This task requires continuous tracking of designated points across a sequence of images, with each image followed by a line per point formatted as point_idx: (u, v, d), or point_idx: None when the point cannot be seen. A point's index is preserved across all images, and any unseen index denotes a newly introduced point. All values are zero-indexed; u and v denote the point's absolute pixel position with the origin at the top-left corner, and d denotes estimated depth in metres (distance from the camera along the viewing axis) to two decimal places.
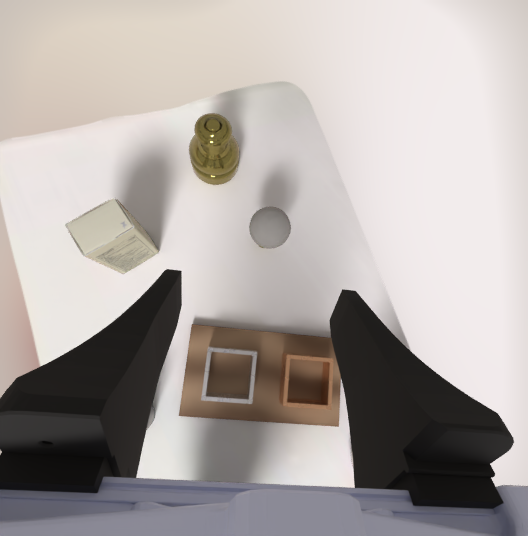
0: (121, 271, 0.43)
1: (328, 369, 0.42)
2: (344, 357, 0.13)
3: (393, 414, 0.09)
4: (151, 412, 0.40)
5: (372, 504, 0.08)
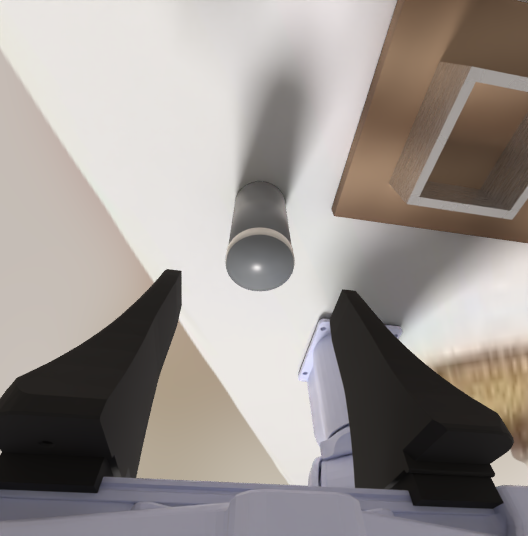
0: None
1: None
2: (344, 357, 0.13)
3: (393, 414, 0.09)
4: (285, 208, 0.20)
5: (372, 504, 0.08)
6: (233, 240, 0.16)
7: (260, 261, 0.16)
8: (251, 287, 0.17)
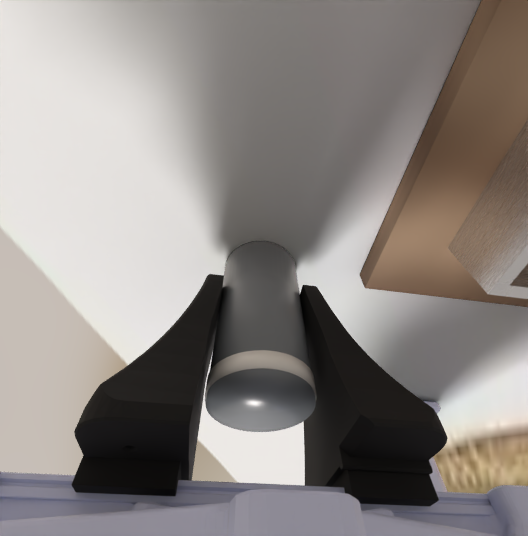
0: None
1: None
2: None
3: (334, 410, 0.09)
4: (297, 282, 0.14)
5: (372, 504, 0.08)
6: (217, 369, 0.10)
7: (261, 401, 0.10)
8: (247, 428, 0.11)
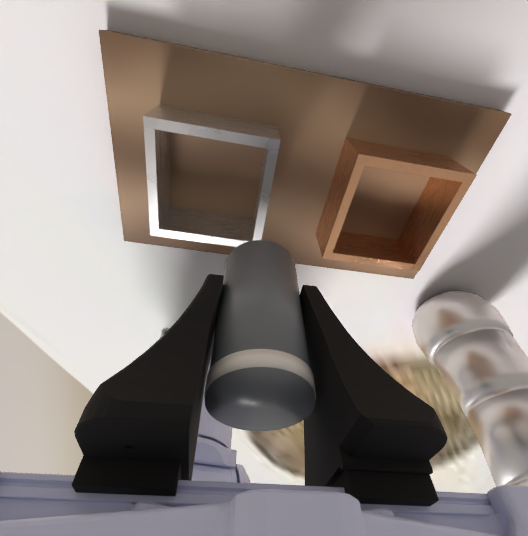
0: None
1: (449, 195, 0.17)
2: None
3: (334, 410, 0.09)
4: (296, 281, 0.14)
5: (372, 504, 0.08)
6: (216, 368, 0.09)
7: (261, 400, 0.10)
8: (246, 427, 0.11)
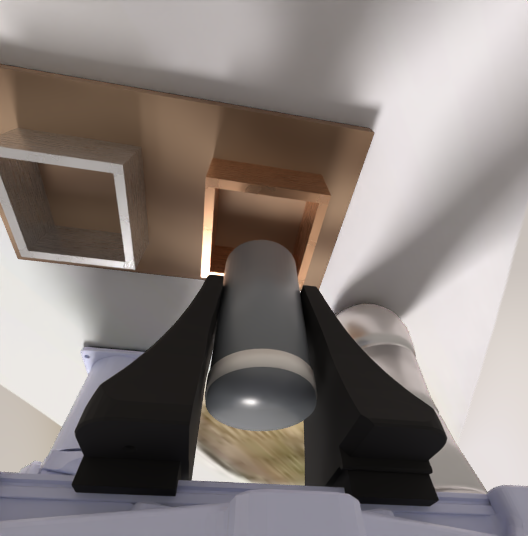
0: None
1: (313, 214, 0.17)
2: None
3: (334, 409, 0.09)
4: (297, 280, 0.14)
5: (372, 504, 0.08)
6: (217, 368, 0.09)
7: (262, 400, 0.10)
8: (247, 427, 0.11)
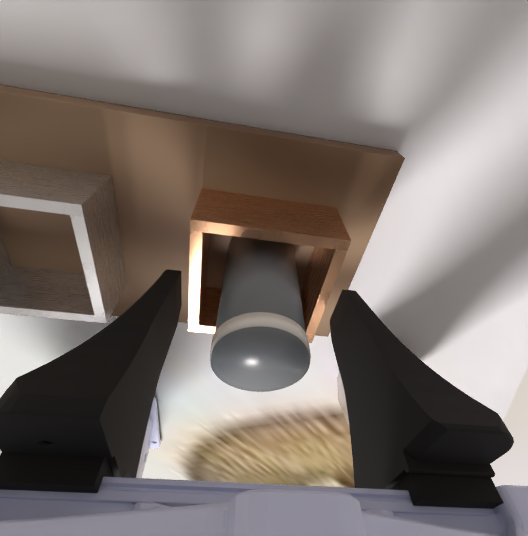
0: None
1: (327, 261, 0.14)
2: (344, 357, 0.13)
3: (393, 414, 0.09)
4: (294, 261, 0.15)
5: (372, 504, 0.08)
6: (221, 329, 0.11)
7: (261, 359, 0.11)
8: (247, 387, 0.12)
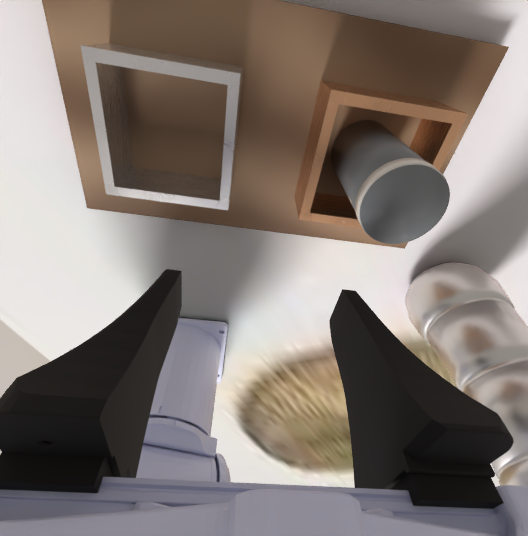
0: None
1: (438, 141, 0.15)
2: (344, 357, 0.13)
3: (393, 414, 0.09)
4: None
5: (372, 504, 0.08)
6: (375, 174, 0.12)
7: (406, 202, 0.12)
8: (383, 238, 0.14)
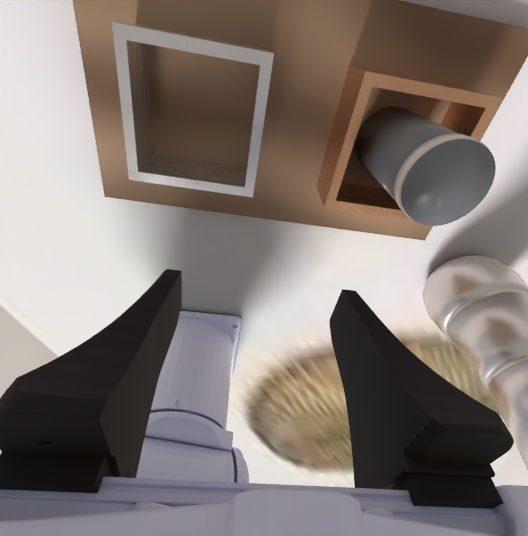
0: None
1: (469, 127, 0.15)
2: (344, 357, 0.13)
3: (393, 414, 0.09)
4: None
5: (372, 504, 0.08)
6: (419, 150, 0.12)
7: (451, 179, 0.12)
8: (423, 219, 0.13)
